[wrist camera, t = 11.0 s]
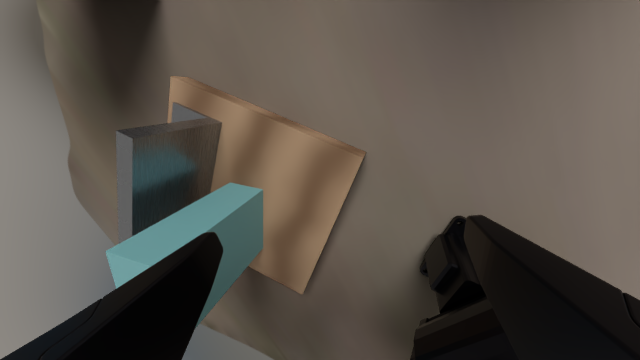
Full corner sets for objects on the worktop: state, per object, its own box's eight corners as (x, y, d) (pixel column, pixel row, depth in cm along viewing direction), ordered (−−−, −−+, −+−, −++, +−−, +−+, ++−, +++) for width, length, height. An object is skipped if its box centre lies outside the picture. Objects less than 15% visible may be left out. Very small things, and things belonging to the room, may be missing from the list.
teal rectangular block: (263, 189, 22) (157, 268, 12) (263, 248, 25) (174, 353, 15) (229, 182, 23) (105, 251, 13) (233, 240, 26) (129, 335, 16)
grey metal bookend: (222, 122, 21) (132, 138, 14) (204, 228, 26) (131, 280, 19) (176, 102, 22) (68, 108, 15) (167, 209, 27) (83, 253, 20)
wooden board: (366, 152, 21) (363, 158, 19) (308, 281, 27) (302, 294, 25) (188, 77, 23) (170, 76, 21) (175, 212, 30) (160, 220, 28)
